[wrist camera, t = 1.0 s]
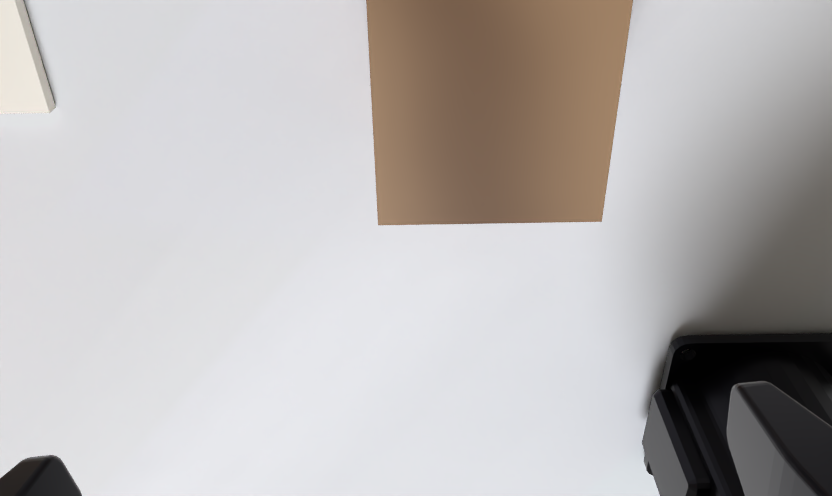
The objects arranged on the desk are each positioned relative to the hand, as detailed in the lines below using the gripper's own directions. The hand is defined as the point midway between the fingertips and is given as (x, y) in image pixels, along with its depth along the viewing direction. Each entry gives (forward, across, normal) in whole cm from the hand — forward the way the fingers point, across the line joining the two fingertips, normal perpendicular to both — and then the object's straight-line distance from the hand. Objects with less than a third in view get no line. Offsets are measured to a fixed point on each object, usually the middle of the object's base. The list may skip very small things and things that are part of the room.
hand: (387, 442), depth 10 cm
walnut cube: (+12, -2, -1) cm, 12 cm away
